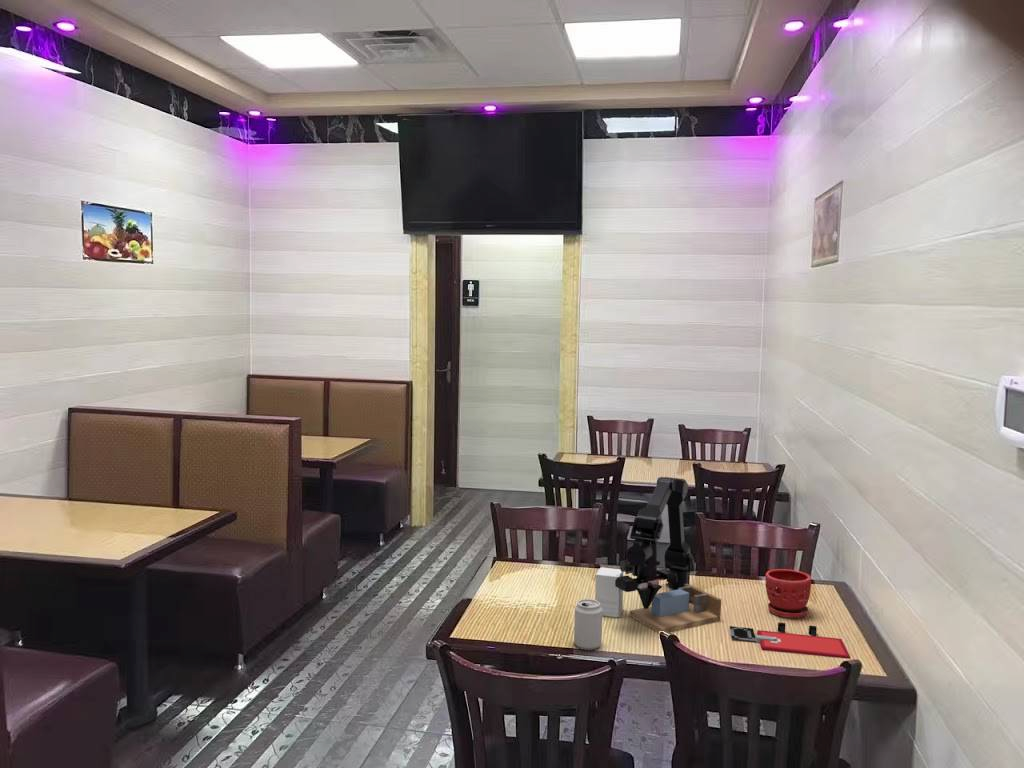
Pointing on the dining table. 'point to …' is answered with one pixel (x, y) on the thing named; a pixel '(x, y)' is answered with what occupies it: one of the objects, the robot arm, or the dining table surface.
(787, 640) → the red board with handle
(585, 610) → the can
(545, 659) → the dining table surface
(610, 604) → the supplement box
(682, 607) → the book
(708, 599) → the shelf
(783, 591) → the plant pot
